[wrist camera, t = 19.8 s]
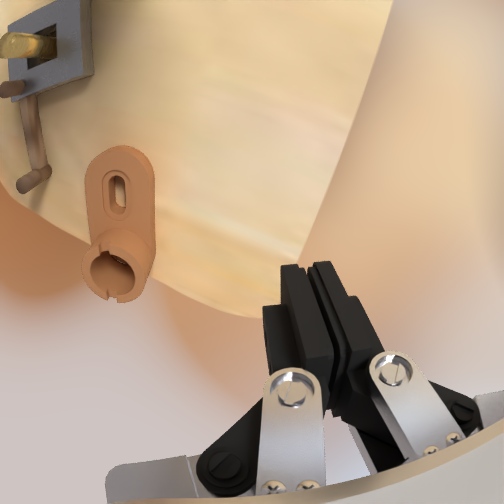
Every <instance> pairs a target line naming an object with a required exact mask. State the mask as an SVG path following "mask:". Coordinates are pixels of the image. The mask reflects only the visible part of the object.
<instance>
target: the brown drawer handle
mask: <svg viewBox="0 0 504 504" xmlns="http://www.w3.org/2000/svg"><path fill="white" fill-rule="evenodd" d="M24 87H25V85H24V82H23V81H22V80H13V81H5V82H3V83H2V84H1V85H0V97H1V98H8V97H13V96H18V95H20V94H22V92H23V91H24ZM19 101H20V109H21V116H22V123H23V129H24V134H25V140H26V145H27V150H28V155H29V159H30V164H31V168H32V171H31V172H29V173H28V174H26V175H24V176H23V177H21V178H19V179H18V180H17V182H16V187H17V190H18V191H19V193H21V194H25V193H27V192H28V191H30V190H31V189H32V188H34V187H35V186H37V185H38V184H40V183H41V182H42V181H44V180H45V179H47V178H48V177H50V176H51V174H52V169H51V166H50V165H49V164H48V161H47V157H46V152H45V147H44V142H43V137H42V131H41V125H40V119H39V112H38V105H37V97H36V95H33V96H27V97H24V98H22V99H20V100H19Z"/></svg>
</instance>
